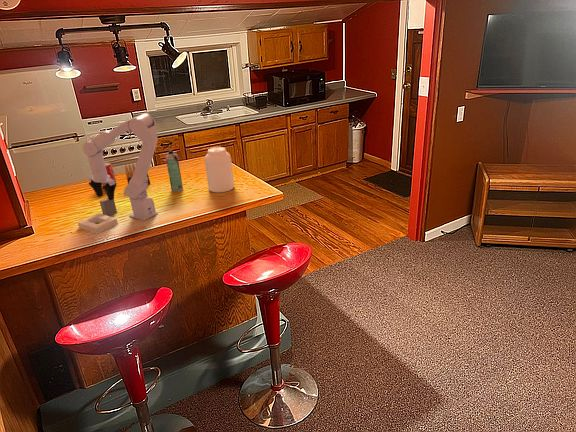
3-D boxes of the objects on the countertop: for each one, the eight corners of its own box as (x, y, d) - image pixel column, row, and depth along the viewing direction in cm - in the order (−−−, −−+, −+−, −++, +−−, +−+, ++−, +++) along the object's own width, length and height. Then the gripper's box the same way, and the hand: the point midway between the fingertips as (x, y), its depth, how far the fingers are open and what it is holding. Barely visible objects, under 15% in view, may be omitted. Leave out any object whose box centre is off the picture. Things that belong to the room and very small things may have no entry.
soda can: (114, 188, 215) (108, 166, 209) (100, 189, 215) (94, 166, 210) (119, 183, 221) (114, 161, 216) (106, 184, 221) (100, 162, 216)
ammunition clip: (128, 187, 215) (123, 165, 210) (128, 186, 216) (123, 164, 211) (150, 183, 219) (145, 161, 214) (149, 182, 220) (145, 160, 215)
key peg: (117, 212, 188) (113, 197, 185) (107, 216, 185) (103, 201, 181) (113, 211, 190) (109, 196, 187) (103, 215, 186) (99, 200, 183)
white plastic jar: (237, 190, 205) (232, 150, 196) (211, 195, 201) (206, 154, 192) (230, 181, 215) (226, 143, 207) (206, 186, 212) (200, 147, 203)
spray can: (184, 187, 211) (177, 148, 203) (180, 191, 207) (174, 152, 198) (173, 187, 212) (166, 148, 203) (170, 191, 207) (162, 152, 198)
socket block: (117, 223, 178) (116, 218, 177) (97, 234, 170) (95, 228, 169) (99, 218, 184) (98, 213, 183) (79, 227, 176) (77, 222, 175)
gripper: (117, 167, 177) (124, 197, 183) (95, 163, 184) (103, 191, 190) (103, 173, 172) (110, 203, 178) (81, 168, 179) (89, 197, 185)
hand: (106, 197), depth 184 cm, fingers open, 7 cm apart
